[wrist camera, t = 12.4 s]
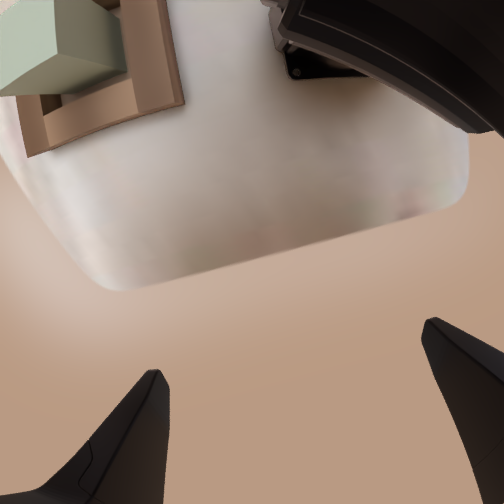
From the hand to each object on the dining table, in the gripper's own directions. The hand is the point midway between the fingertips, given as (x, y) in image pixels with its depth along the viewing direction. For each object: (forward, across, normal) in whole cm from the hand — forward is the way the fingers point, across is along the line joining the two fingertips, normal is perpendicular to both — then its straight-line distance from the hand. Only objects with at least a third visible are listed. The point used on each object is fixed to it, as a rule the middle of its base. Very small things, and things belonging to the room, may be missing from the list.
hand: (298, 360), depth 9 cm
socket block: (+12, +8, -14) cm, 20 cm away
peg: (+12, +8, -14) cm, 20 cm away
